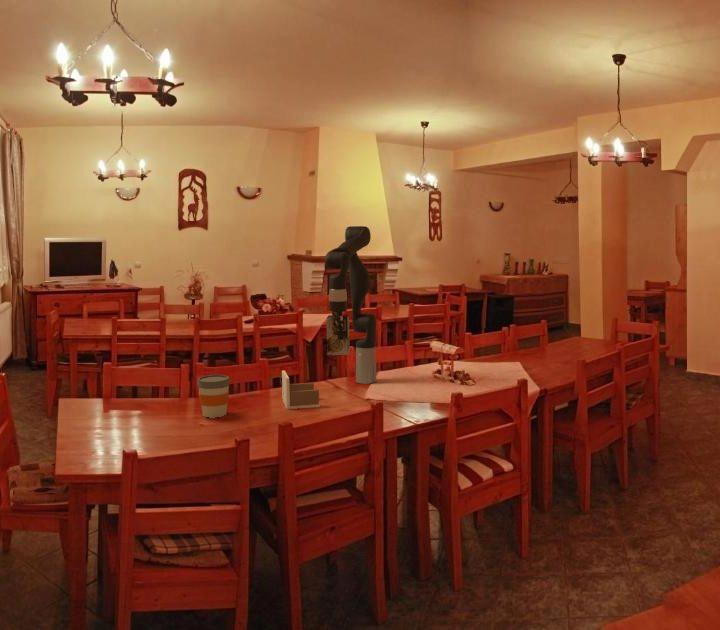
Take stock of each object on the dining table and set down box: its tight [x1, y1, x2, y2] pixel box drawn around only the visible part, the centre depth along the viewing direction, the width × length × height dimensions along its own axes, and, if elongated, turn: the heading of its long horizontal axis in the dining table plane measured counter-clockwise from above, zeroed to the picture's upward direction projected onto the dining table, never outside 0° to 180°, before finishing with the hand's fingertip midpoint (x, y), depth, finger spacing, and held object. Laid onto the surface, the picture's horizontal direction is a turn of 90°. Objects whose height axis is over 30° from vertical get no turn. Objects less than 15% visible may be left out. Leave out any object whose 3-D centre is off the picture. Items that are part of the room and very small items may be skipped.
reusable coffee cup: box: [196, 374, 231, 419], centre depth 253 cm, size 13×13×15 cm
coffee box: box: [325, 314, 351, 356], centre depth 269 cm, size 9×6×16 cm
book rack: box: [281, 370, 321, 410], centre depth 270 cm, size 14×15×13 cm
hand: (338, 338), depth 269 cm, fingers closed on coffee box, 7 cm apart
